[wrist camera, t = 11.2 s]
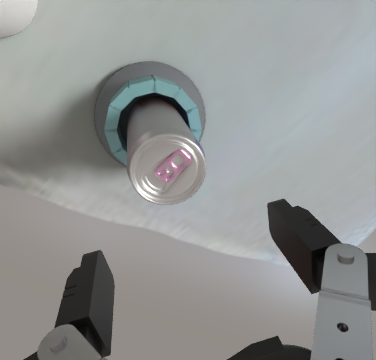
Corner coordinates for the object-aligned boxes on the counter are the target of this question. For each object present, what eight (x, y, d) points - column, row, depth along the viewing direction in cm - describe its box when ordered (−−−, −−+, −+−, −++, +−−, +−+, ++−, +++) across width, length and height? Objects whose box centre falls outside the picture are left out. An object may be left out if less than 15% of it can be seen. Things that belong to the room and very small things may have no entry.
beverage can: (188, 120, 35) (224, 170, 22) (153, 154, 36) (167, 221, 23) (152, 83, 32) (169, 113, 19) (116, 121, 33) (108, 174, 20)
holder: (77, 77, 31) (69, 82, 27) (192, 49, 32) (202, 50, 28) (115, 180, 37) (114, 198, 33) (211, 154, 38) (222, 168, 34)
